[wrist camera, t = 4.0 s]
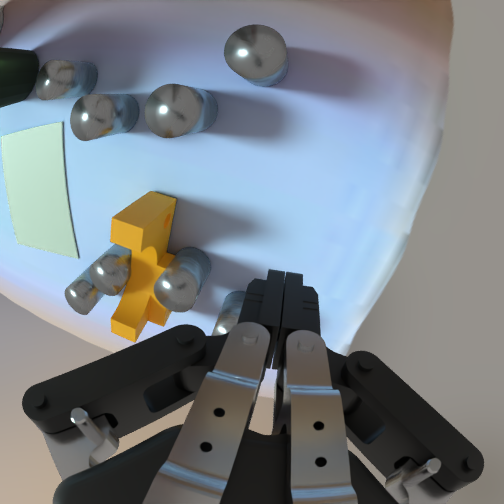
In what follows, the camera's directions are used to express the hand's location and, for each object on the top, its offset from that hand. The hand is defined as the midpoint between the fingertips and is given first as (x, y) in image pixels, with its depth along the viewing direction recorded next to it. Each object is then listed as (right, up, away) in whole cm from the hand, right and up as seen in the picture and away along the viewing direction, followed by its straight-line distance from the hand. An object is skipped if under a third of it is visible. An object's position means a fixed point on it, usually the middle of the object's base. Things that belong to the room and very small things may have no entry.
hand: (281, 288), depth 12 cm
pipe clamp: (-10, +1, +14) cm, 17 cm away
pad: (-28, +9, +13) cm, 32 cm away
